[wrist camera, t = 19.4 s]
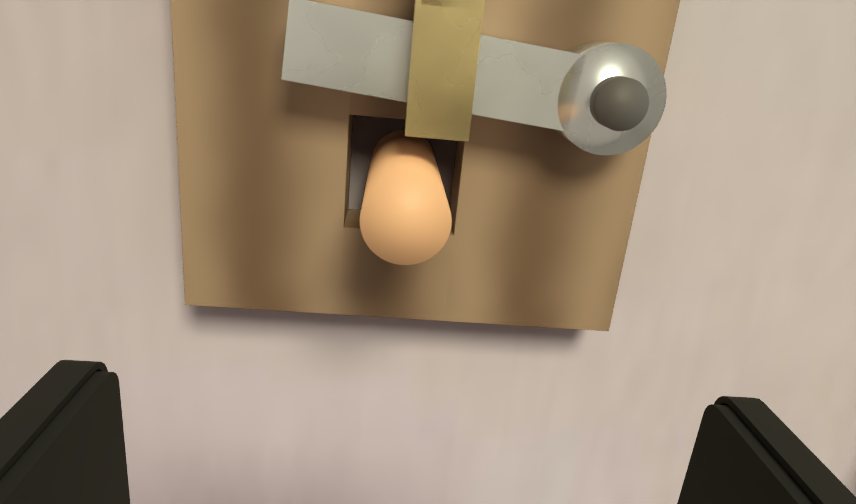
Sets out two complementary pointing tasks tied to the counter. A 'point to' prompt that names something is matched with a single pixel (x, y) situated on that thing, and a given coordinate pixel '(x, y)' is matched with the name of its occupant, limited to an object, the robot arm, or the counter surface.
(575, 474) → the counter surface
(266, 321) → the counter surface
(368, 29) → the latch bar
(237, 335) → the counter surface
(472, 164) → the base plate
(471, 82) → the keeper
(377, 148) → the lock pin
